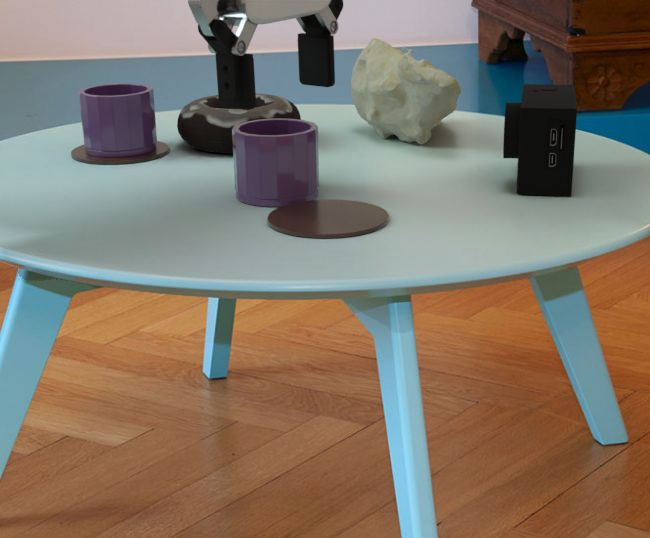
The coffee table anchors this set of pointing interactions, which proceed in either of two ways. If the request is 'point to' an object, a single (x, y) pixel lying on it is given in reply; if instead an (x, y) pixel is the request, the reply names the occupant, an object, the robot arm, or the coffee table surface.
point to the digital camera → (542, 138)
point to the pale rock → (401, 92)
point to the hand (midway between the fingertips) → (279, 95)
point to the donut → (226, 120)
